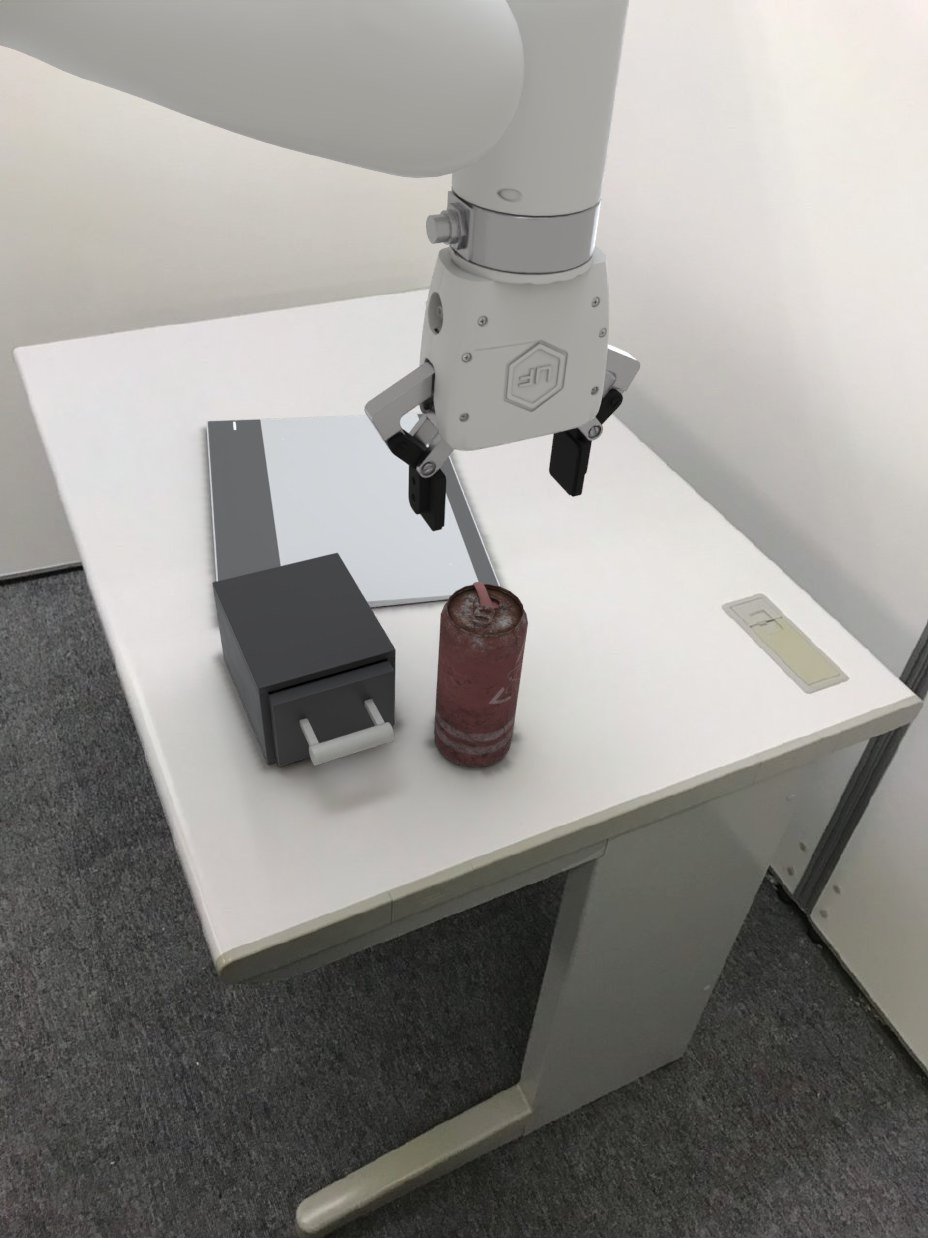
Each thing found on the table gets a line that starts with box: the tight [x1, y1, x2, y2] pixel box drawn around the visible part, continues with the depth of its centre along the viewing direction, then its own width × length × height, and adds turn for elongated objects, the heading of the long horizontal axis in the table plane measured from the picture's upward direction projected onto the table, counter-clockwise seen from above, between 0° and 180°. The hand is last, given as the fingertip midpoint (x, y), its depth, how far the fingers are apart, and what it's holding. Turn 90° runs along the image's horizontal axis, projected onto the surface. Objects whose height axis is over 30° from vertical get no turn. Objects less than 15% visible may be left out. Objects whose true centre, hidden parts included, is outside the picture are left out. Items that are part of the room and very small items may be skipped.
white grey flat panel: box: [205, 412, 501, 608], centre depth 98 cm, size 32×26×1 cm
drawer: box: [268, 661, 395, 767], centre depth 74 cm, size 15×9×7 cm, turn 26°
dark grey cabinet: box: [211, 553, 397, 765], centre depth 76 cm, size 12×10×8 cm
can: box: [433, 582, 529, 768], centre depth 72 cm, size 6×6×14 cm
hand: (498, 500), depth 61 cm, fingers open, 9 cm apart
